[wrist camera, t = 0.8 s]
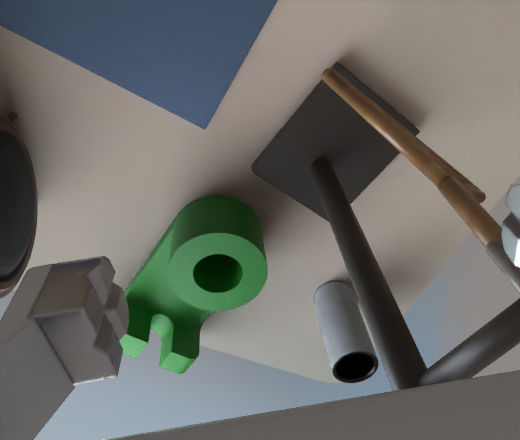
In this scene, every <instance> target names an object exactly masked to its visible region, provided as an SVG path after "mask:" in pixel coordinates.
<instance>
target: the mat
mask: <svg viewBox="0 0 520 440" xmlns="http://www.w3.org/2000/svg"><path fill="white" fill-rule="evenodd" d="M276 2H277V0H0V25H1V26H3V27H5V28H7V29H9V30H11V31H13V32H15V33H17V34H19V35H21V36H23V37H25V38H27V39H28V40H30V41H32V42H34V43H36V44H38V45H40V46H42V47H44V48H46V49H48V50H50V51H52V52H54V53H56V54H58V55H60V56H62V57H64V58H66V59H68V60H70V61H72V62H74V63H75V64H77V65H79V66H81V67H83V68H85V69H87V70H89V71H91V72H93V73H95V74H97V75H99V76H101V77H103V78H105V79H107V80H109V81H111V82H113V83H115V84H117V85H119V86H121V87H122V88H124V89H126V90H128V91H130V92H132V93H134V94H136V95H138V96H140V97H142V98H144V99H146V100H148V101H150V102H152V103H154V104H156V105H158V106H160V107H162V108H164V109H166V110H168V111H169V112H171V113H173V114H175V115H177V116H179V117H181V118H183V119H185V120H187V121H189V122H191V123H193V124H195V125H197V126H199V127H201V128H203V129H206V127H207V125H208V124H209V122H210V120H211V118H212V116H213V115H214V113H215V111H216V109H217V107H218V106H219V104H220V102H221V100H222V99H223V97H224V95H225V93H226V91H227V90H228V88H229V86H230V84H231V82H232V81H233V79H234V77H235V75H236V73H237V72H238V70H239V68H240V66H241V64H242V63H243V61H244V59H245V57H246V56H247V54H248V52H249V50H250V48H251V47H252V45H253V43H254V41H255V39H256V38H257V36H258V34H259V32H260V30H261V29H262V27H263V25H264V23H265V21H266V20H267V18H268V16H269V14H270V13H271V11H272V9H273V7H274V5H275V4H276Z"/></svg>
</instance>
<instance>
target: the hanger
mask: <svg viewBox="0 0 520 440" xmlns="http://www.w3.org/2000/svg"><path fill="white" fill-rule="evenodd" d="M322 78H323V81H324V82H325V83H326V84H327V85H328V86H329V87H331V88H332V89H333V90H334V91H335V92H336V93H337V94H338V95H339V96H340V97H341V98H342V99H343V100H345V101H346V102H347V103H348V104H349V105H350V106H351V107H352V108H353V109H354V110H355V111H356V112H357V113H359V114H360V115H361V116H362V117H363V118H364V119H365V120H366V121H367V122H368V123H369V124H370V125H371V126H373V127H374V128H375V129H376V130H377V131H378V132H379V133H380V134H381V135H382V136H383V137H384V138H385V139H387V140H388V141H389V142H390V143H391V144H392V145H393V146H394V147H395V148H396V149H397V150H398V151H399V152H401V153H402V154H403V155H404V156H405V157H406V158H407V159H408V160H409V161H410V162H411V163H412V164H413V165H415V166H416V167H417V168H418V169H419V170H420V171H421V172H422V173H423V174H424V175H425V176H426V177H427V178H429V179H430V180H431V181H432V182H433V183H434V184H435V185H436V186H437V188H438V190H439V191H440V192H441V193H442V195H443V196H444V197H445V198H446V200H447V201H448V202H449V203H450V205H451V206H452V207H453V208H454V209H455V211H456V212H457V213H458V214H459V216H460V217H461V218H462V219H463V221H464V222H465V223H466V224H467V225H468V227H469V228H470V229H471V230H472V232H473V233H474V234H475V235H476V237H477V238H478V239H479V240H480V241H481V243H482V244H483V245H484V246H485V248H486V252H487V253H488V255H489V256H490V257H491V258H492V260H493V261H494V262H495V263H496V265H497V266H498V267H499V268H500V270H501V271H502V272H503V273H504V274H505V276H506V277H507V278H508V280H509V281H510V282H511V283H512V285H513V286H514V287H515V288H516V290H517V291H518V292H519V293H520V268H519V267H516V266H515V265H514V264H513V263H512V262H511V260H510V259H509V258H508V256H507V254H506V252H505V250H504V247H503V242H502V237H501V233H502V228H501V227H500V226H499V225H498V224H497V222H496V221H495V220H494V219H493V218H492V217H491V216H490V215H489V214H488V213H487V212H486V210H485V209H484V208H483V207H482V206H481V205H480V204H479V203H482V202H483V201H484V200H485V198H486V196H485V194H484V192H482V191H481V190H480V189H479V188H478V187H476V186H475V185H474V184H473V183H472V182H470V181H469V180H468V179H467V178H465V177H464V176H463V175H462V174H461V173H459V172H458V171H457V170H456V169H455V168H453V167H452V166H451V165H450V164H448V163H447V162H446V161H445V160H444V159H442V158H441V157H440V156H439V155H438V154H436V153H435V152H434V151H433V150H431V149H430V148H429V147H428V146H427V145H425V144H424V143H423V142H422V141H421V140H419V139H418V138H417V137H416V136H415V135H413V134H412V133H411V132H410V131H408V130H407V129H406V128H405V127H404V126H402V125H401V124H400V123H399V122H398V121H396V120H395V119H394V118H393V117H391V116H390V115H389V114H388V113H387V112H385V111H384V110H383V109H382V108H381V107H379V106H378V105H377V104H376V103H374V102H373V101H372V100H371V99H370V98H368V97H367V96H366V95H365V94H364V93H362V92H361V91H360V90H359V89H357V88H356V87H355V86H354V85H353V84H351V83H350V82H349V81H348V80H347V79H345V78H344V77H343V76H342V75H341V74H339V73H338V72H337V71H336V70H334V69H332V68H328V69H326V70H325V71H324V72H323V74H322Z"/></svg>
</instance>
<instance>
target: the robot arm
mask: <svg viewBox="0 0 520 440" xmlns="http://www.w3.org/2000/svg"><path fill="white" fill-rule="evenodd" d="M506 205H507V206H508V207H509V208H510V210H511V211H512V212H511V213H510V214H509V215H508V217H507V218H506V219H505V220H504V221H503V224H502V233H501V237H502V242H503V247H504V250H505V252H506V254H507V256H508V258H509V259H510V260H511V262H512V263H513V264H514V265H515V266H516V267H519V268H520V184H515V185H511V187H510V189H509V190H508V192H507V198H506ZM114 274H115V270H114V268H113V266H112V264H111V262H110V260H109V259H108V258H107V257H105V256H101V257H94V258H88V259H81V260H75V261H68V262H62V263H57V264H49V265H44V266H38V267H33V268H31V269H29V270H27V272H26V274H25V276H24V277H23V279H22V281H21V283H20V285H19V287H18V289H17V291H16V292H15V294H14V296H13V298H12V300H11V302H10V304H9V306H8V308H7V309H6V311H5V313H4V315H3V317H2V319H1V321H0V440H33V439H34V438H35V437H36V436H37V434H38V433H39V432H40V431H41V429H42V428H43V427H44V426H45V424H46V423H47V422H48V421H49V419H50V418H51V417H52V416H53V414H54V413H55V412H56V411H57V409H58V408H59V407H60V406H61V404H62V403H63V401H65V399H66V398H67V397H68V395H69V394H70V393H71V392H72V390H73V389H74V388H75V387H74V385H78V384H83V383H88V382H93V381H97V380H103V379H108V378H113V377H117V376H118V371H119V367H120V362H121V358H122V353H123V348H122V346H121V344H120V341H119V340H120V339H121V338H122V337H123V336H124V335H125V334H126V333H127V329H128V324H129V310H128V304H127V300H126V296H125V294H124V292H123V289H122V288H121V287H119V286H118V285H116V284H115V283H113V282H112V281H113V278H114ZM105 440H520V370H517V371H511V372H505V373H499V374H494V375H487V376H481V377H475V378H469V379H463V380H457V381H451V382H445V383H439V384H433V385H427V386H421V387H415V388H409V389H403V390H397V391H391V392H385V393H380V394H373V395H367V396H361V397H355V398H350V399H343V400H338V401H331V402H325V403H320V404H314V405H308V406H302V407H296V408H290V409H284V410H278V411H272V412H267V413H260V414H254V415H248V416H242V417H237V418H230V419H224V420H219V421H212V422H207V423H200V424H195V425H188V426H182V427H176V428H170V429H164V430H159V431H153V432H147V433H140V434H135V435H129V436H123V437H117V438H111V439H105Z"/></svg>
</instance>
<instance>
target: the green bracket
mask: <svg viewBox="0 0 520 440" xmlns="http://www.w3.org/2000/svg"><path fill="white" fill-rule="evenodd" d="M266 279H267V262H266V256H265V249H264V243H263V236H262V229H261V224H260V221H259V219H258V217H257V215H256V213H255V212H254V211H253V210H252V209H251V208H250V207H249V206H248V205H246V204H245V203H243V202H242V201H240V200H238V199H235V198H232V197H228V196H207V197H203V198H200V199H197V200H195V201H193V202H191V203H190V204H188V205H187V206H186V207H185V208H183V209H182V211H181V212H180V213H179V214H178V216H177V217H176V219H175V220H174V221H173V223H172V224H171V226H170V227H169V229H168V230H167V232H166V233H165V234H164V236H163V237H162V239H161V240H160V242H159V243H158V245H157V246H156V247H155V249H154V250H153V252H152V253H151V255H150V256H149V258H148V259H147V261H146V262H145V263H144V265H143V266H142V268H141V269H140V271H139V272H138V274H137V275H136V276H135V278H134V279H133V281H132V282H131V284H130V285H129V287H128V288H127V289H126V291H125V292H124V294H125V296H126V300H127V304H128V310H129V324H128V329H127V333H126V334H125V335H124V336H123V337H122V338H121V339H120V340H119V341H120V344H121V346H122V348H123V354H125V355H128V356H131V357H134V358H137V357H138V355H139V354H140V353H141V352H142V350H143V349H144V348H145V346H146V345H147V344H148V340H149V334H150V330H153V331H155V332H156V333H157V334H159V336H160V337H161V340H162V346H161V354H160V362H159V367H161V368H163V369H166V370H169V371H172V372H174V373H178V374H181V373H184V372H185V371H186V370H187V368H188V367H189V366H190V365H191V364H192V363H193V361H194V360H195V359H196V358H197V357H198V355H199V341H200V328H201V326H202V324H203V322H204V321H205V319H206V318H207V317H208V316H209V315H210V313H211V312H212V311H223V310H229V309H233V308H237V307H239V306H242V305H244V304H246V303H248V302H249V301H251V300H252V299H253V298H254V297H256V296H257V295H258V293H259V292H260V291H261V290H262V288H263V286H264V284H265V282H266Z"/></svg>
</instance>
